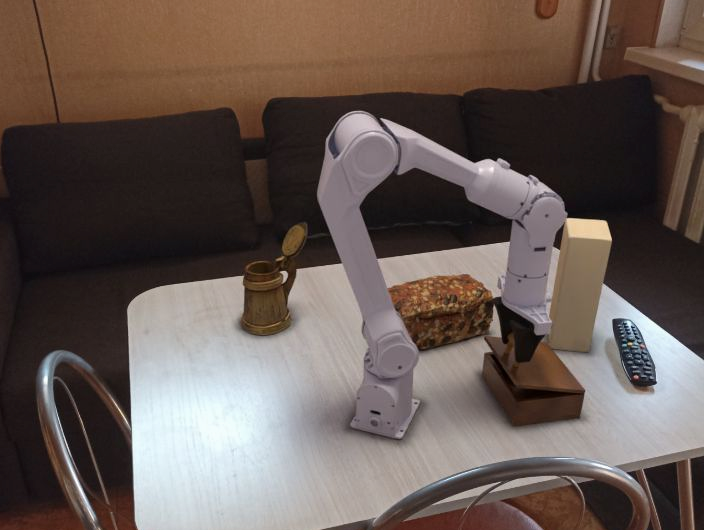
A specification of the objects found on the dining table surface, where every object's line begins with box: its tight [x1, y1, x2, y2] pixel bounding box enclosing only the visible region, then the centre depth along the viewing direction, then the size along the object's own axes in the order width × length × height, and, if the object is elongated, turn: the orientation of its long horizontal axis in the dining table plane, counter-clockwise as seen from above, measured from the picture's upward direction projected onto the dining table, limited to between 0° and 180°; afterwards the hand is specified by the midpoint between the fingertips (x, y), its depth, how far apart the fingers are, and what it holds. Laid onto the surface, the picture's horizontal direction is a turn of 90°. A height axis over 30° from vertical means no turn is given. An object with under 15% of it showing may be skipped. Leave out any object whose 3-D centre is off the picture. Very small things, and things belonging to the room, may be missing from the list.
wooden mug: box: [241, 221, 308, 336], centre depth 125 cm, size 9×14×18 cm, turn 118°
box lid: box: [483, 333, 586, 394], centre depth 105 cm, size 11×13×4 cm
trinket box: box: [481, 351, 586, 427], centre depth 107 cm, size 10×13×4 cm
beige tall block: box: [547, 217, 613, 353], centre depth 117 cm, size 8×7×21 cm
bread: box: [387, 273, 495, 350], centre depth 122 cm, size 19×11×10 cm, turn 113°
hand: (516, 351), depth 104 cm, fingers closed on box lid, 4 cm apart
